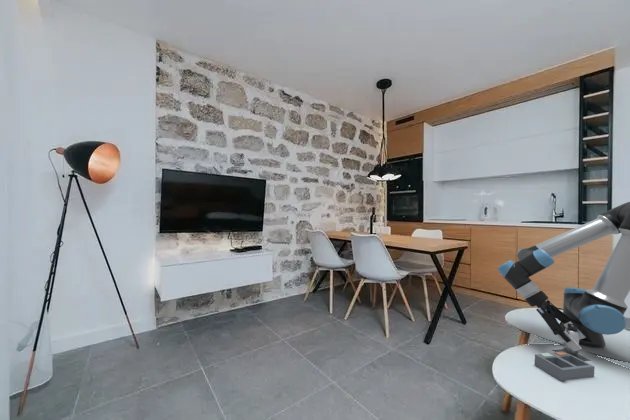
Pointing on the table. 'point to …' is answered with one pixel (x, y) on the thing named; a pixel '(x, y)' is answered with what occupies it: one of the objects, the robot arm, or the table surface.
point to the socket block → (564, 366)
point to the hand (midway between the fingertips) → (580, 344)
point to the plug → (575, 334)
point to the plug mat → (578, 355)
